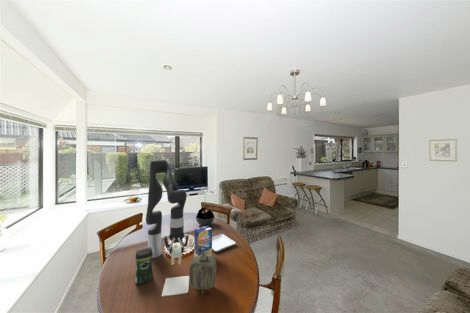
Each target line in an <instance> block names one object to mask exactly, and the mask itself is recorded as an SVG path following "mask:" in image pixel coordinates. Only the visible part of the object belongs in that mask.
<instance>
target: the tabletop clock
mask: <svg viewBox="0 0 470 313" xmlns="http://www.w3.org/2000/svg"><path fill="white" fill-rule="evenodd" d="M200 248H207V249H208V250H209V251H210V249H209V248H208V247H199V248H198V250H199V249H200ZM198 250H197V252H198ZM198 253H200V252H198ZM207 253H209V252H206V253H204V251H203V253H200V254H201V255H199V256H195V257H194V256H193V258H192V261H191V263H190V267H189V272H188V276H189V286H190V287H191V288H192V289H193V290H201V291H200V294H201V295H204V294H205V291H204V290H209V289H212V288H214V287H215V283H216V277H217V268H218V267H217V259H216V256H214V255H212V256H210V255H206V254H207Z"/></svg>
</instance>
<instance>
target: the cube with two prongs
mask: <svg viewBox="0 0 470 313" xmlns="http://www.w3.org/2000/svg"><path fill="white" fill-rule="evenodd" d="M170 258H171V260H170V261H171V263H170V264H171V266H173V265H175V260H176V259H177V260H178V263H177V264H178V265H181V263H182V254H181V247H172V252H171V255H170Z"/></svg>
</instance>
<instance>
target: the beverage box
mask: <svg viewBox="0 0 470 313" xmlns="http://www.w3.org/2000/svg"><path fill="white" fill-rule="evenodd" d="M212 237H213V228H212V227H210V225H208V226H201V227H198V228H195V229H194V242H193V243H194V244H193V245H194V250H193V251H194V253H193V254H194V256H193V258H194V257H195V256H199V255H201V254H200V253H203V251H204V253H206V252H209V253H207V254H206V255H210V256H213V254H212V253H213V249H212ZM199 247H208V248H209V249H210V251H209V250H208V249H207V248H200V249H199V250H198V248H199ZM197 250H198V252H200V253H198V252H197Z"/></svg>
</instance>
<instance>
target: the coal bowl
mask: <svg viewBox="0 0 470 313" xmlns="http://www.w3.org/2000/svg"><path fill="white" fill-rule="evenodd" d="M206 209H207V207H202V208H200V209H198V212H197V214H196V216H195V221H196V223H197V224H198V225H200V226H201V227H205V226H210V225H211V224H213V222H214V221H215V216H216V215H214V212H213V211H212V210H210V209H207V210H206ZM205 210H206V211H205ZM204 211H205V212H204Z"/></svg>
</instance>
